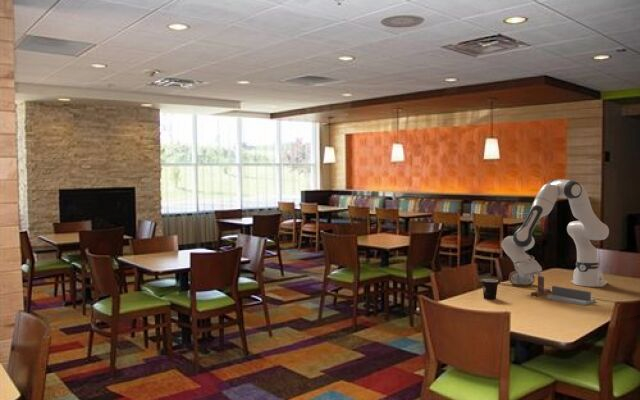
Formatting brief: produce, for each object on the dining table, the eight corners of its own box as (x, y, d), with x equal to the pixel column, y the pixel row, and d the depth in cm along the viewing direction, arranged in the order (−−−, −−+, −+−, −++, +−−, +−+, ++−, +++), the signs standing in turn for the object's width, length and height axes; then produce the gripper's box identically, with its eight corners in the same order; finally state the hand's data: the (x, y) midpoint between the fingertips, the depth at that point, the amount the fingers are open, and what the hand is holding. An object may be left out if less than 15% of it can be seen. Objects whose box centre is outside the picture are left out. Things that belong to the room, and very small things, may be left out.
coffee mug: (499, 300, 288) (499, 282, 287) (482, 299, 290) (482, 281, 289) (496, 295, 299) (496, 278, 299) (480, 295, 301) (480, 277, 300)
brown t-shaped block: (546, 291, 310) (546, 274, 309) (550, 292, 308) (550, 275, 307) (530, 296, 298) (530, 278, 298) (534, 297, 296) (535, 279, 296)
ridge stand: (558, 295, 300) (558, 284, 299) (595, 301, 284) (595, 290, 284) (547, 298, 291) (547, 287, 291) (584, 305, 276) (584, 294, 276)
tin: (533, 284, 329) (533, 271, 328) (535, 285, 326) (535, 272, 325) (508, 284, 330) (508, 270, 330) (509, 285, 327) (509, 271, 327)
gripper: (516, 259, 303) (532, 278, 296) (534, 255, 316) (550, 274, 309) (508, 266, 306) (524, 285, 299) (527, 262, 319) (542, 280, 312)
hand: (537, 279), depth 304 cm, fingers open, 8 cm apart
